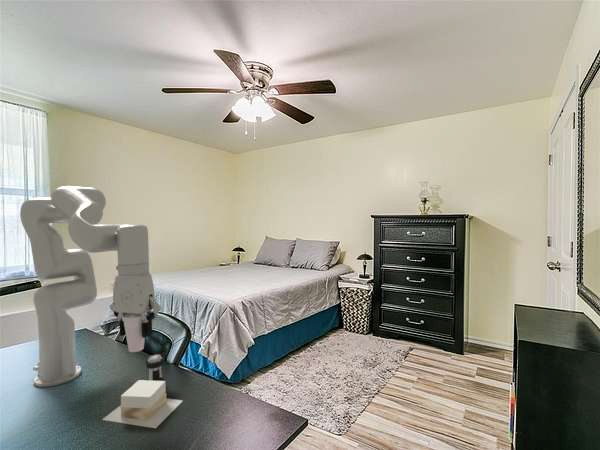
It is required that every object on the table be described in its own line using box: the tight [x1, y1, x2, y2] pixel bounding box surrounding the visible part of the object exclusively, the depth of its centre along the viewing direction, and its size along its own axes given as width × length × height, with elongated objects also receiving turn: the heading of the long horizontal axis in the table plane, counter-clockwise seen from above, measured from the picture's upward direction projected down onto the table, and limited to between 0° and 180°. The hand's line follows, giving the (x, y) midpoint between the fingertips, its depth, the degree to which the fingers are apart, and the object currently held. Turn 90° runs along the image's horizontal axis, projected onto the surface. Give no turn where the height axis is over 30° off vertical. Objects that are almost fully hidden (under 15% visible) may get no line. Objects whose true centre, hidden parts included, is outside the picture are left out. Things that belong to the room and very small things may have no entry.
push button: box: [144, 354, 166, 382], centre depth 97 cm, size 7×5×10 cm
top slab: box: [120, 379, 167, 408], centre depth 86 cm, size 8×8×3 cm
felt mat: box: [101, 397, 183, 429], centre depth 86 cm, size 16×12×1 cm
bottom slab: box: [121, 391, 167, 421], centre depth 86 cm, size 8×8×3 cm
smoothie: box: [122, 312, 148, 353], centre depth 86 cm, size 6×6×14 cm
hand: (136, 334), depth 86 cm, fingers closed on smoothie, 6 cm apart
